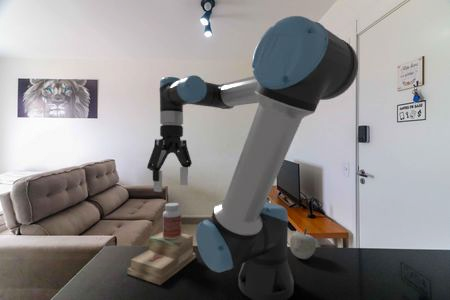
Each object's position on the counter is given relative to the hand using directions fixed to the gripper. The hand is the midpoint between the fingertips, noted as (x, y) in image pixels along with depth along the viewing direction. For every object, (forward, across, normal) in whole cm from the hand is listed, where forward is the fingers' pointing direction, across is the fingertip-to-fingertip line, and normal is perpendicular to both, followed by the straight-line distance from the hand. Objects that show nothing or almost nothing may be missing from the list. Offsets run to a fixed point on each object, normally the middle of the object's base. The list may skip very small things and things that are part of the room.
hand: (171, 188), depth 80 cm
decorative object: (+25, -22, +40) cm, 52 cm away
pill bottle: (+17, 0, 0) cm, 17 cm away
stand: (+25, +4, 0) cm, 25 cm away
